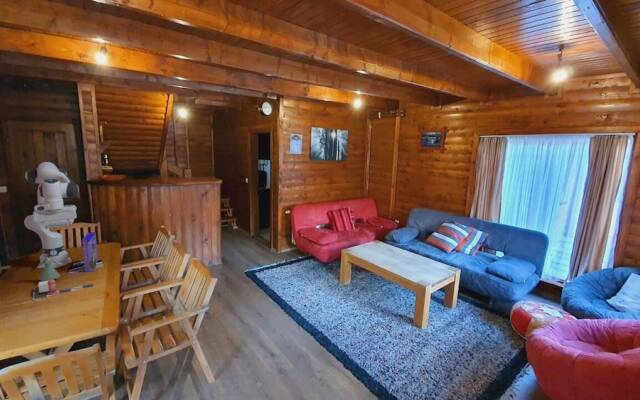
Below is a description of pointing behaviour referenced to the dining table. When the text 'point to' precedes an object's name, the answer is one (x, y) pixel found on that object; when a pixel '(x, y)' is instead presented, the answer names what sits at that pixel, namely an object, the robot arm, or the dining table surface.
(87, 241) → the cereal box
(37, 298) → the track board
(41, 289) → the die
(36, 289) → the dice tray
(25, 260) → the dining table surface
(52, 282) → the pawn
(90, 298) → the dining table surface
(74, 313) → the dining table surface
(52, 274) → the character figurine
